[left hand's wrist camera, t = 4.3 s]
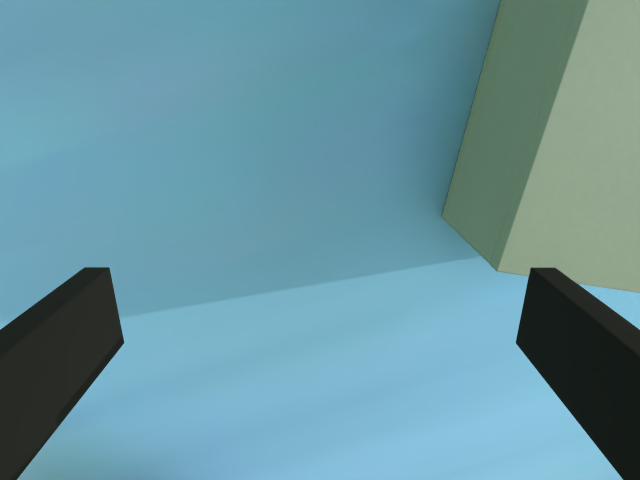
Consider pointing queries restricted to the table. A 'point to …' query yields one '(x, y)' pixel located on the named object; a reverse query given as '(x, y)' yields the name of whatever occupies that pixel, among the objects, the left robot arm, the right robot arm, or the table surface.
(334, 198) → the table surface
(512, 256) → the cabinet
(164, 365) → the table surface
